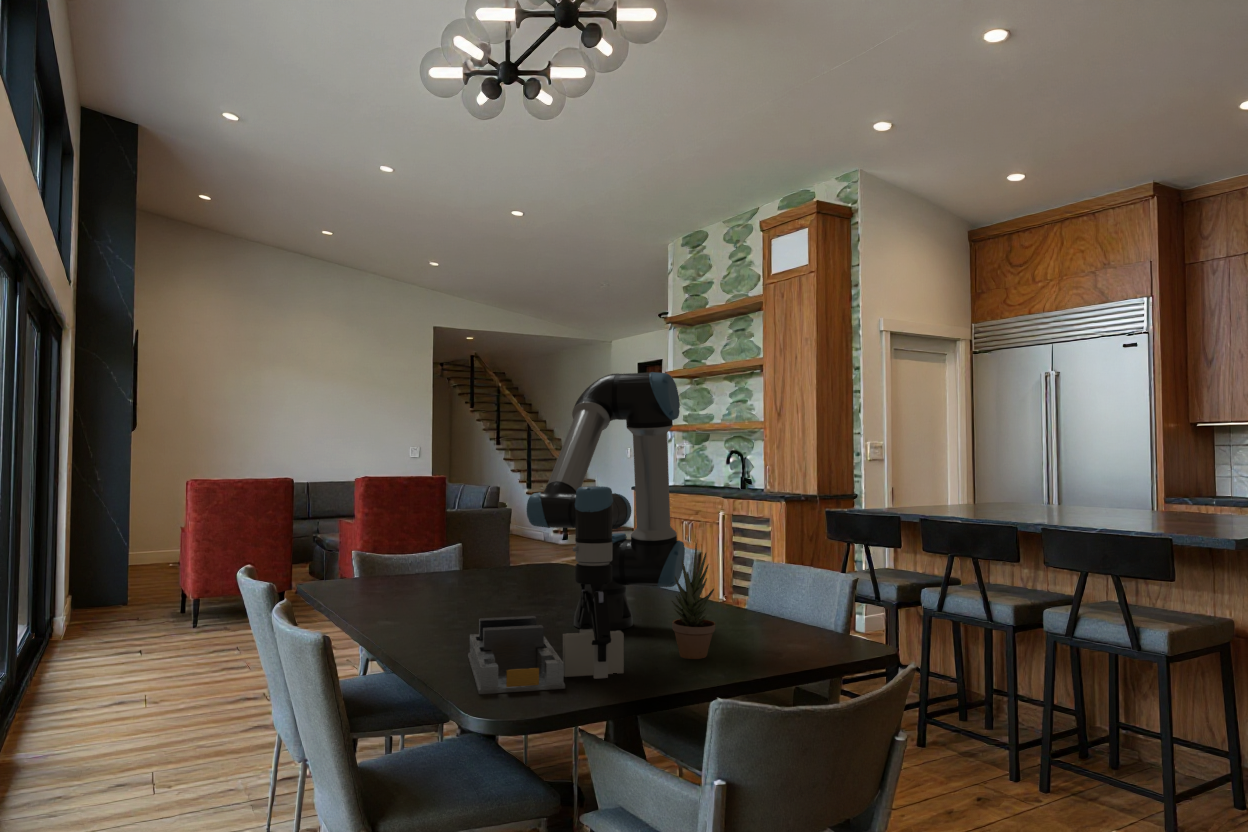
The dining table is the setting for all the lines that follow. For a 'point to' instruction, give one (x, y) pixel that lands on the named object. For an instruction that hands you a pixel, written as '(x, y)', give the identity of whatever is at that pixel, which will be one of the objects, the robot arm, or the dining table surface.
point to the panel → (590, 653)
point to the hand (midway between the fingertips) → (593, 669)
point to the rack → (513, 657)
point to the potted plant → (693, 615)
